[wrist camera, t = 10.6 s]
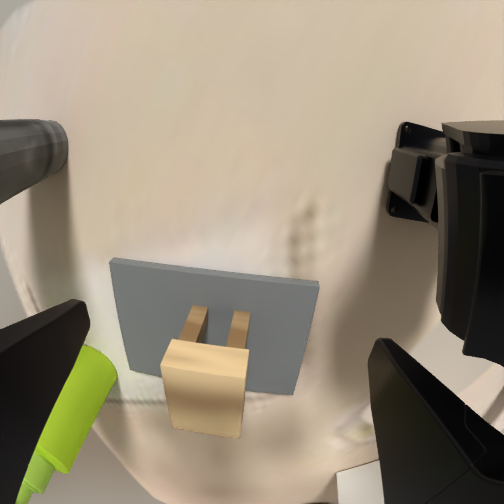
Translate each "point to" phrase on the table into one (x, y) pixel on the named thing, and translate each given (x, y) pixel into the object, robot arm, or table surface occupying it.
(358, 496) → the milk carton
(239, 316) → the oak stool
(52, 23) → the table surface
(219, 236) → the table surface
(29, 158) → the beverage cup
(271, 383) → the grey rectangular board
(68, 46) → the table surface
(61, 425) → the soap dispenser
